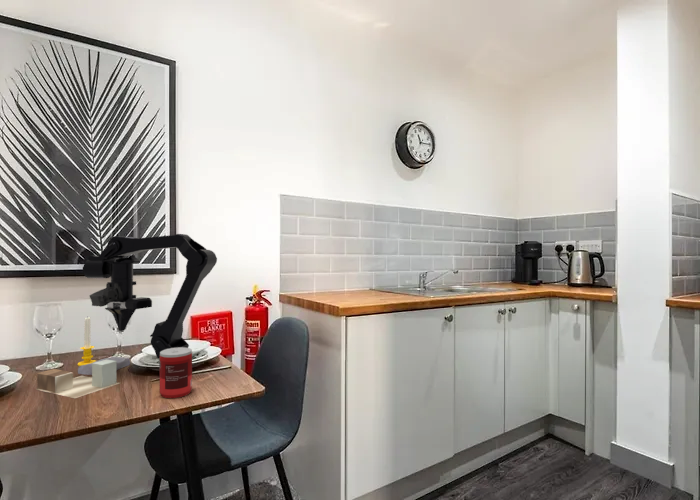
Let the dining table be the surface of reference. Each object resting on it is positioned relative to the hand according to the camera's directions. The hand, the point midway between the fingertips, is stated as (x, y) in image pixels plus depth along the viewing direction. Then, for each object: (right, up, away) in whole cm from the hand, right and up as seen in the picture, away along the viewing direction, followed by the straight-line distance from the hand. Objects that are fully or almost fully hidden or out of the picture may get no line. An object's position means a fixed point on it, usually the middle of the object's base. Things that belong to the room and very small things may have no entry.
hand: (121, 330), depth 116 cm
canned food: (+23, -13, -15) cm, 30 cm away
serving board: (-4, -13, -12) cm, 18 cm away
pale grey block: (+2, -12, -11) cm, 17 cm away
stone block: (-7, -14, +3) cm, 16 cm away
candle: (-17, -13, +10) cm, 24 cm away
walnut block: (-5, -10, -16) cm, 19 cm away
